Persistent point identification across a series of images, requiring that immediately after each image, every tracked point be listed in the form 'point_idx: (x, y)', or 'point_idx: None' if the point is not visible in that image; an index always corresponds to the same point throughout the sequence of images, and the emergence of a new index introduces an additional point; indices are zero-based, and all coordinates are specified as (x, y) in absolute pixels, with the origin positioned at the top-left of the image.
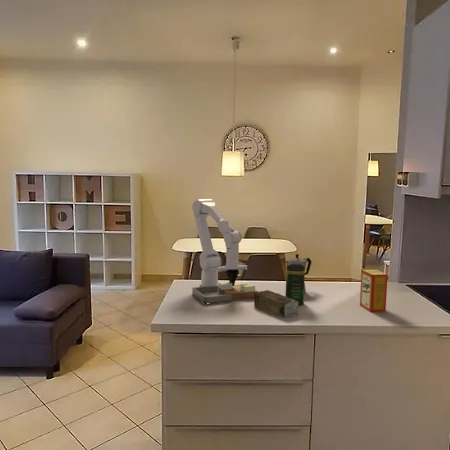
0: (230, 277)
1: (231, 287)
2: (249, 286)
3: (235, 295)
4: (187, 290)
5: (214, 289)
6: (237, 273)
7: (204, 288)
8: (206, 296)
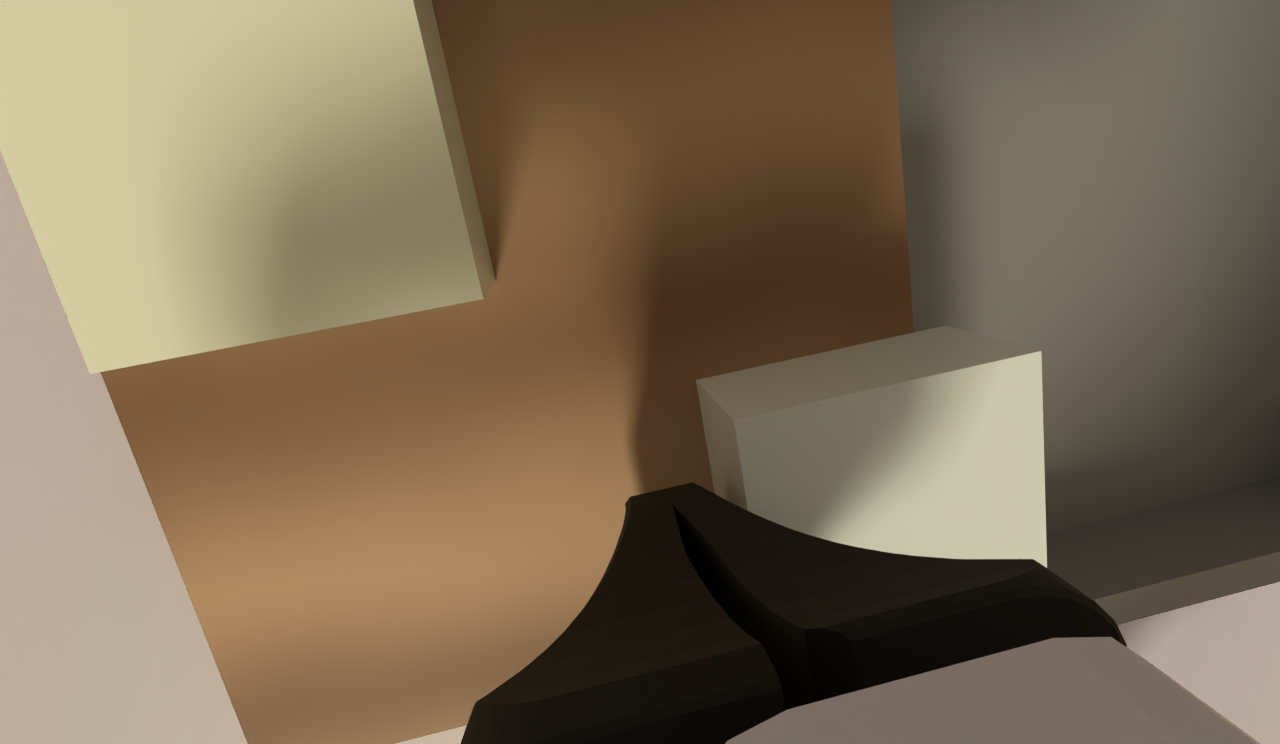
0: (859, 551)
1: (722, 384)
2: None
3: None
4: (1264, 707)
5: None
6: (574, 671)
7: (1191, 552)
8: (1178, 252)
